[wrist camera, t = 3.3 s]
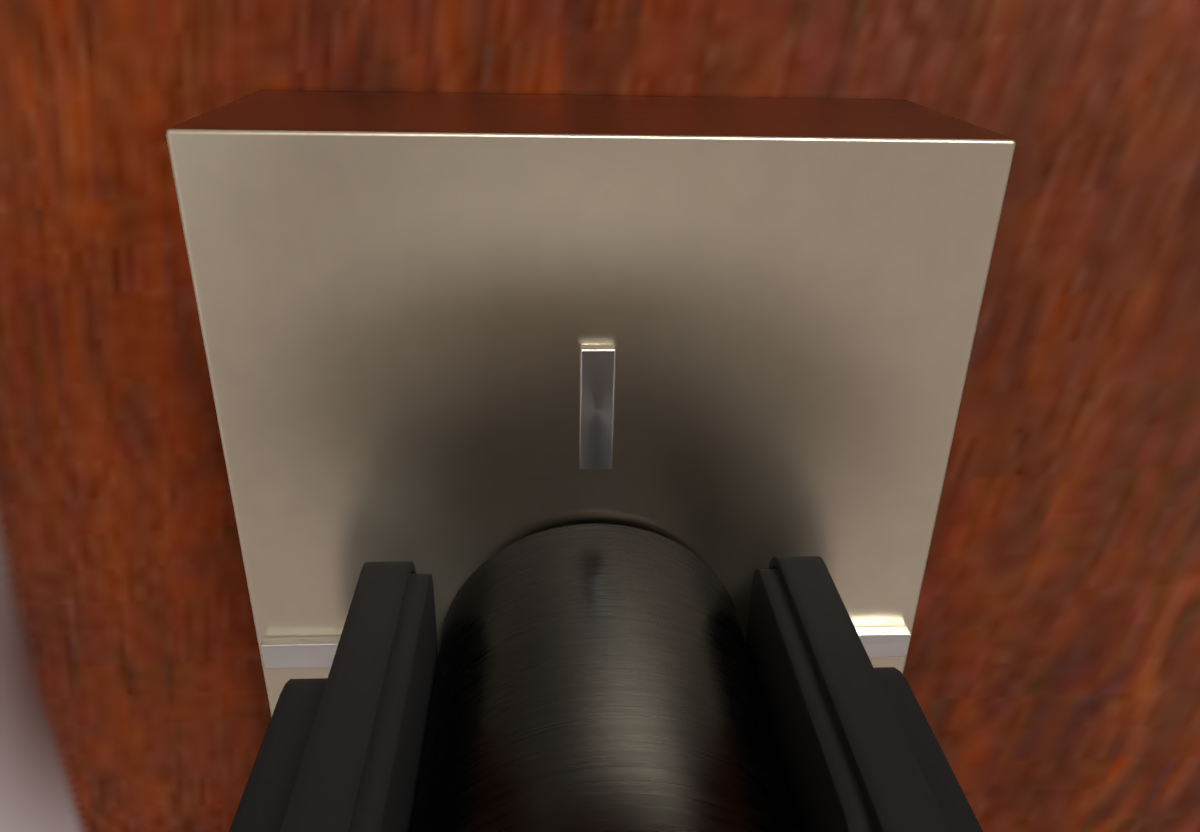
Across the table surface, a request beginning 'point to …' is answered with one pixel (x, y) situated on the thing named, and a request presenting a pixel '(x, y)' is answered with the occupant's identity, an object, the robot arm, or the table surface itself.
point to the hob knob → (597, 696)
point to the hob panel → (583, 335)
